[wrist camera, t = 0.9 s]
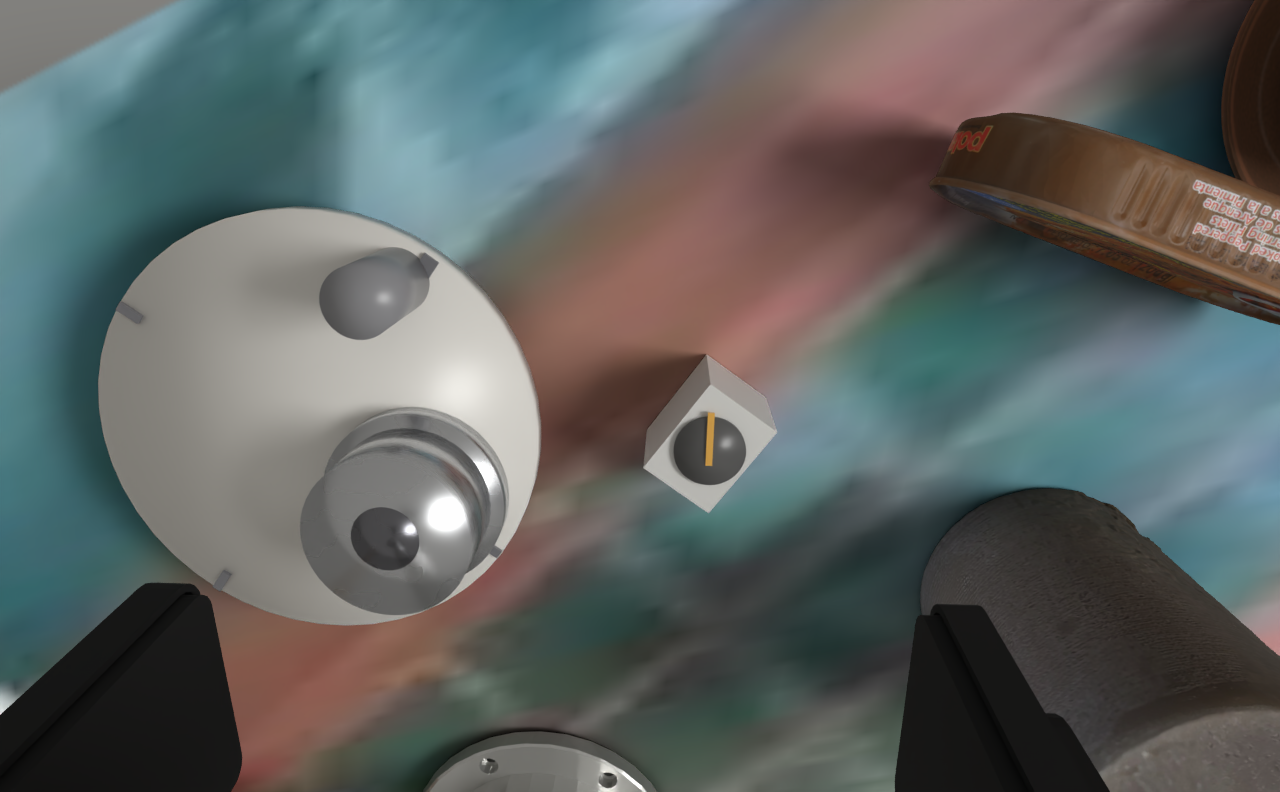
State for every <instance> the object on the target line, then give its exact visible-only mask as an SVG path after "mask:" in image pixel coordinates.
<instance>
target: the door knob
mask: <svg viewBox="0 0 1280 792" xmlns="http://www.w3.org/2000/svg"><path fill="white" fill-rule="evenodd" d="M508 508H509V488H508V481H507V478H506V474H505V471H504V468H503V466H502V464H501V462H500V460H499V458H498V456H497V455H496V453H495V451H494V450H493V448H492V447H491V446H490V445H489V443H488V442H487V441H486V440H485V439H484V438H483V437H482V436H481V435H480V434H479V433H478V432H477V431H476V430H474V429H473V428H472V427H471V426H469V425H468V424H466V423H464V422H463V421H461V420H460V419H458V418H456V417H453V416H451V415H449V414H447V413H443V412H440V411H437V410H433V409H428V408H419V407H405V408H396V409H391V410H387V411H384V412H382V413H379V414H376V415H374V416H372V417H370V418H369V419H367V420H366V421H364V422H363V423H361V424H360V425H359V426H357V427H356V428H355V429H354V430H353V431H352V432H350V433H349V434H348V435H347V436H346V437H345V438H344V439H343V440H342V441H341V442H340V443H339V445H338V446H337V447H336V448H335V450H334V451H333V453H332V455H331V457H330V458H329V460H328V463H327V466H326V468H325V472H324V476H323V477H322V478H321V479H320V480H319V481H318V482H317V483H316V484H315V485H314V487H313V488H312V489H311V491H310V493H309V494H308V496H307V498H306V500H305V503H304V506H303V508H302V513H301V518H300V536H301V542H302V546H303V550H304V553H305V555H306V558H307V560H308V562H309V564H310V566H311V568H312V569H313V571H314V572H315V574H316V575H317V577H318V578H319V579H320V580H321V581H322V582H323V584H324V585H325V586H326V587H327V588H329V589H330V590H331V591H332V592H333V593H334V594H336V595H337V596H338V597H340V598H341V599H343V600H344V601H346V602H348V603H350V604H351V605H354V606H356V607H358V608H361V609H363V610H366V611H370V612H373V613H378V614H384V615H407V614H413V613H417V612H421V611H424V610H427V609H429V608H431V607H433V606H435V605H437V604H439V603H440V602H442V601H443V600H445V599H446V598H447V597H448V596H449V595H450V594H452V592H453V591H454V590H455V589H456V588H457V587H458V585H459V584H460V582H461V581H462V579H463V577H464V575H465V574H466V573H468V572H469V571H471V570H473V569H474V568H475V567H476V566H478V565H479V564H480V563H481V562H482V561H483V560H484V559H485V558H486V557H487V556H488V554H489V553H490V552H491V550H492V549H493V547H494V545H495V544H496V541H497V539H498V537H499V535H500V533H501V531H502V529H503V527H504V524H505V521H506V518H507V515H508Z"/></svg>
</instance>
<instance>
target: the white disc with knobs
mask: <svg viewBox="0 0 1280 792" xmlns="http://www.w3.org/2000/svg"><path fill="white" fill-rule="evenodd" d="M98 392H99V412H100V418H101V424H102V430H103V436H104V439H105V442H106V446H107V449H108V452H109V456H110V459H111V462H112V464H113V467H114V469H115V471H116V473H117V476H118V478H119V480H120V482H121V485H122V487H123V489H124V490H125V492H126V494H127V495H128V497H129V499H130V501H131V502H132V504H133V506H134V507H135V509H136V511H137V512H138V513H139V515H140V516H141V517H142V519H143V520H144V521H145V523H146V524H147V525H148V527H149V528H150V529H151V531H152V532H153V533H154V534H155V536H156V537H157V538H158V539H159V540H160V541H161V542H162V543H163V544H164V545H165V546H166V547H167V548H168V549H169V550H170V551H171V552H172V553H173V554H174V555H175V556H176V557H177V558H178V559H179V560H181V561H182V562H183V563H184V564H185V565H186V566H188V567H189V568H190V569H191V570H192V571H194V572H195V573H196V574H198V575H199V576H201V577H202V578H204V579H205V580H206V581H208V582H209V583H211V584H212V585H213V588H215V589H217V590H218V591H221V590H222V591H224V592H226V593H228V594H229V595H231V596H233V597H235V598H237V599H239V600H241V601H243V602H245V603H248V604H250V605H252V606H255V607H257V608H260V609H262V610H265V611H267V612H270V613H274V614H277V615H281V616H284V617H288V618H291V619H295V620H301V621H307V622H313V623H318V624H332V625H363V624H375V623H381V622H387V621H392V620H398V619H401V618H404V617H408V616H411V615H414V614H417V613H421V612H423V611H421V612H417V613H413V614H407V615H384V614H378V613H373V612H370V611H366V610H363V609H361V608H358V607H356V606H354V605H351V604H350V603H348V602H346V601H344V600H343V599H341V598H340V597H338V596H337V595H336V594H334V593H333V592H332V591H331V590H330V589H329V588H327V587H326V586H325V585H324V584H323V582H322V581H321V580H320V579H319V578H318V577H317V575H316V574H315V572H314V571H313V569H312V568H311V566H310V564H309V562H308V560H307V558H306V555H305V553H304V550H303V546H302V542H301V536H300V518H301V513H302V508H303V506H304V503H305V500H306V498H307V496H308V494H309V493H310V491H311V489H312V488H313V487H314V485H315V484H316V483H317V482H318V481H319V480H320V479H321V478H322V477H323V476H324V472H325V468H326V466H327V463H328V460H329V458H330V457H331V455H332V453H333V451H334V450H335V448H336V447H337V446H338V445H339V443H340V442H341V441H342V440H343V439H344V438H345V437H346V436H347V435H348V434H349V433H350V432H352V431H353V430H354V429H355V428H356V427H357V426H359V425H360V424H361V423H363V422H364V421H366V420H367V419H369V418H370V417H372V416H374V415H376V414H379V413H382V412H384V411H387V410H391V409H396V408H405V407H419V408H428V409H433V410H437V411H440V412H443V413H447V414H449V415H451V416H453V417H456V418H458V419H460V420H461V421H463V422H464V423H466V424H468V425H469V426H471V427H472V428H473V429H474V430H476V431H477V432H478V433H479V434H480V435H481V436H482V437H483V438H484V439H485V440H486V441H487V442H488V443H489V445H490V446H491V447H492V448H493V450H494V451H495V453H496V455H497V456H498V458H499V460H500V462H501V464H502V466H503V468H504V471H505V474H506V478H507V481H508V488H509V508H508V515H507V518H506V521H505V524H504V527H503V529H502V531H501V533H500V535H499V537H498V539H497V541H496V544H495V545H494V547H493V549H492V550H491V552H490V553H489V554H488V556H487V557H486V558H485V559H484V560H483V561H482V562H481V563H480V564H479V565H478V566H476V567H475V568H474V569H473V570H471V571H469V572H468V573H466V574H465V575H464V577H463V579H462V581H461V582H460V584H459V585H458V587H457V588H456V589H455V590H454V591H453V592H452V594H450V595H449V596H448V597H447V598H446V599H445V600H443V601H442V602H440V603H439V604H441V603H443V602H445V601H447V600H448V599H450V598H451V597H453V596H455V595H456V594H458V593H459V592H461V591H463V590H464V589H466V588H467V587H468V586H469V585H470V584H472V583H473V582H474V581H475V580H476V579H478V578H479V577H480V576H481V575H482V574H483V573H485V572H486V570H487V569H488V568H489V567H490V566H491V565H492V564H493V563H494V561H495V560H496V559H497V558H498V557H499V556H500V555H501V553H502V552H503V550H504V549H505V547H506V546H507V544H508V543H509V541H510V540H511V538H512V537H513V535H514V534H515V532H516V530H517V528H518V525H519V523H520V521H521V519H522V517H523V515H524V513H525V510H526V508H527V505H528V503H529V500H530V497H531V494H532V491H533V487H534V484H535V481H536V477H537V473H538V466H539V460H540V453H541V417H540V409H539V402H538V395H537V392H536V388H535V384H534V380H533V377H532V373H531V369H530V367H529V365H528V362H527V360H526V357H525V355H524V353H523V350H522V348H521V345H520V343H519V341H518V339H517V338H516V336H515V334H514V333H513V331H512V329H511V327H510V326H509V324H508V322H507V320H506V319H505V317H504V316H503V314H502V313H501V312H500V310H499V309H498V308H497V306H496V305H495V304H494V302H493V301H492V300H491V298H490V297H489V296H488V295H487V293H486V292H485V291H484V290H483V289H482V288H481V287H480V286H479V285H478V284H477V283H476V282H475V281H474V280H473V279H472V278H471V277H470V276H469V275H468V274H467V273H466V272H465V271H464V270H463V269H462V268H460V267H459V266H458V265H457V264H455V263H454V262H453V261H452V260H451V259H449V258H448V257H447V256H446V255H444V254H443V253H442V252H440V251H439V250H437V249H436V248H434V247H432V246H431V245H429V244H428V243H426V242H424V241H423V240H421V239H419V238H418V237H416V236H415V235H412V234H410V233H408V232H406V231H404V230H402V229H399V228H397V227H395V226H393V225H391V224H389V223H386V222H383V221H380V220H377V219H374V218H371V217H368V216H364V215H361V214H358V213H354V212H348V211H343V210H337V209H332V208H323V207H303V206H294V207H283V208H271V209H265V210H260V211H255V212H251V213H246V214H242V215H238V216H234V217H229V218H225V219H222V220H220V221H217V222H215V223H212V224H210V225H207V226H205V227H202V228H200V229H197V230H195V231H194V232H192V233H190V234H189V235H187V236H185V237H183V238H182V239H180V240H178V241H177V242H175V243H173V244H172V245H171V246H169V247H168V248H167V249H166V250H165V251H163V252H162V253H161V254H160V255H158V256H157V257H156V258H155V259H154V260H152V261H151V262H150V263H149V265H148V266H147V267H146V268H145V269H144V270H143V271H142V272H141V274H140V275H139V276H138V277H137V278H136V279H135V280H134V281H133V283H132V284H131V286H130V288H129V289H128V291H127V292H126V294H125V295H124V297H123V299H122V300H121V302H119V304H118V306H117V308H116V312H115V314H114V316H113V319H112V321H111V323H110V326H109V328H108V331H107V335H106V339H105V342H104V346H103V350H102V354H101V361H100V370H99V379H98ZM439 604H437V605H439ZM435 606H436V605H435ZM433 607H434V606H433ZM431 608H432V607H431ZM429 609H430V608H429ZM427 610H428V609H427ZM424 611H425V610H424Z"/></svg>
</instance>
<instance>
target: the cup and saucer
mask: <svg viewBox="0 0 1280 792" xmlns="http://www.w3.org/2000/svg"><path fill="white" fill-rule="evenodd" d="M1221 122H1222V132H1223V140H1224V145H1225V149H1226V154H1227V157H1228V160H1229V163H1230V166H1231V169H1232V171H1233V174H1234V176H1235V178H1236V179H1238V180H1241V181H1243V182H1245V183H1248V184H1250V185H1253V186H1255V187H1258V188H1261V189H1263V190H1266V191H1268V192H1271V193H1273V194H1276V195H1279V196H1280V0H1254V2H1253V4H1252V6H1251V7H1250V9H1249V11H1248V13H1247V15H1246V17H1245V19H1244V21H1243V23H1242V25H1241V27H1240V29H1239V32H1238V34H1237V37H1236V40H1235V42H1234V45H1233V48H1232V50H1231V54H1230V57H1229V61H1228V65H1227V68H1226V73H1225V79H1224V84H1223V92H1222V103H1221Z"/></svg>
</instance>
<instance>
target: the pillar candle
mask: <svg viewBox="0 0 1280 792" xmlns="http://www.w3.org/2000/svg"><path fill="white" fill-rule="evenodd" d="M920 596H921V598H920V604H921V613H922V615H930V612H931V609H932V607H933V606H934V605H935V604H960V605H979V606H982V607H983V609H984V610H985V611H986V613H987V614H988V616H989V618H990V620H991V621H992V623H993V625H994V626H995V628H996V630H997V631H998V633H999V635H1000V637H1001V638H1002V640H1003V642H1004V643H1005V645H1006V647H1007V649H1008V650H1009V652H1010V654H1011V655H1012V657H1013V659H1014V660H1015V662H1016V664H1017V666H1018V667H1019V669H1020V671H1021V672H1022V674H1023V676H1024V677H1025V679H1026V681H1027V683H1028V684H1029V686H1030V688H1031V689H1032V691H1033V693H1034V694H1035V696H1036V698H1037V700H1038V701H1039V703H1040V705H1041V706H1042V708H1043V710H1044V712H1045V713H1056V714H1057V715H1059V716H1061V717H1063V718H1064V720H1065V721H1066V722H1067V723H1068V725H1069V726H1070V727H1071V729H1072V730H1073V732H1074V734H1075V735H1076V737H1077V738H1078V740H1079V742H1080V743H1081V745H1082V747H1083V748H1084V750H1085V751H1086V753H1087V755H1088V756H1089V758H1090V760H1091V761H1092V763H1093V764H1094V766H1095V768H1096V769H1097V771H1098V773H1099V774H1100V776H1101V777H1102V779H1103V781H1104V782H1105V784H1106V786H1107V787H1108V789H1109V791H1110V792H1280V656H1279V655H1277V654H1276V653H1275V652H1274V651H1273V650H1271V649H1270V648H1269V647H1268V646H1266V645H1265V643H1264V642H1262V641H1261V640H1260V639H1259V638H1258V637H1257V636H1256V635H1255V634H1254V633H1253V632H1252V631H1251V630H1249V629H1248V628H1247V627H1246V626H1245V625H1244V624H1242V623H1241V622H1240V621H1239V620H1238V619H1237V618H1236V617H1235V616H1234V615H1233V614H1231V613H1230V612H1229V611H1228V610H1227V609H1226V608H1225V607H1224V606H1223V605H1222V604H1221V603H1219V602H1218V601H1217V600H1216V599H1215V598H1214V597H1213V596H1211V595H1210V594H1209V593H1208V592H1206V591H1205V590H1204V588H1203V587H1201V586H1200V585H1199V584H1198V583H1197V582H1196V581H1195V580H1193V579H1192V578H1191V577H1190V576H1189V575H1188V574H1187V573H1185V572H1184V571H1183V570H1182V569H1181V568H1180V567H1179V566H1178V565H1177V564H1175V563H1174V562H1173V561H1172V560H1171V559H1170V558H1169V557H1168V556H1167V555H1165V554H1164V553H1163V552H1162V551H1161V549H1160V548H1159V547H1158V546H1157V545H1156V544H1154V542H1152V541H1151V540H1150V539H1149V538H1146V537H1144V536H1142V535H1140V534H1139V533H1138V531H1137V529H1136V528H1135V525H1134V524H1133V523H1132V522H1131V521H1130V520H1129V519H1128V518H1127V517H1126V516H1125V515H1124V514H1123V513H1121V512H1120V511H1119V510H1118V509H1117V508H1116V507H1114V506H1113V505H1111V504H1107V503H1102V502H1100V501H1098V500H1096V499H1094V498H1090V497H1087V496H1086V495H1085V494H1084V493H1082V492H1079V491H1073V490H1066V489H1053V488H1042V489H1031V490H1024V491H1020V492H1016V493H1013V494H1011V495H1005V496H1001V497H998V498H996V499H993V500H991V501H989V502H986V503H985V504H982V505H980V506H979V507H978V508H976V509H974V510H973V511H971V512H969V513H968V514H967V515H965V516H964V517H963V518H962V519H961V520H960V521H959V522H957V523H956V524H955V525H954V526H953V527H952V528H951V529H950V530H949V531H948V532H947V533H946V534H945V536H944V537H943V538H942V539H941V541H940V542H939V544H938V545H937V546H936V548H935V549H934V551H933V553H932V555H931V557H930V559H929V561H928V564H927V566H926V568H925V570H924V574H923V578H922V584H921V590H920Z"/></svg>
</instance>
